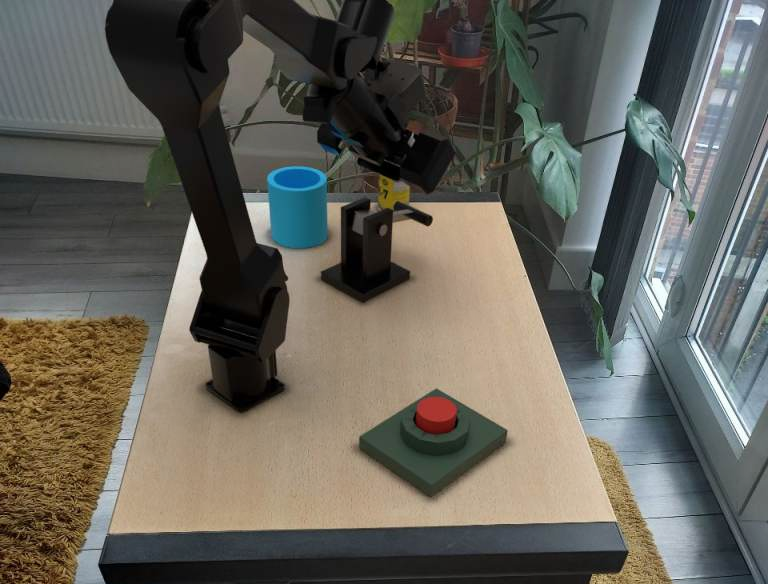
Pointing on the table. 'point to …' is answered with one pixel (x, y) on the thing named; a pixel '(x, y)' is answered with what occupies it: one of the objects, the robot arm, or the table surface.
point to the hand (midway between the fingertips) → (413, 179)
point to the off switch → (432, 445)
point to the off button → (436, 415)
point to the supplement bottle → (391, 193)
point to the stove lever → (400, 214)
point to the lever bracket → (365, 255)
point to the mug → (298, 206)
